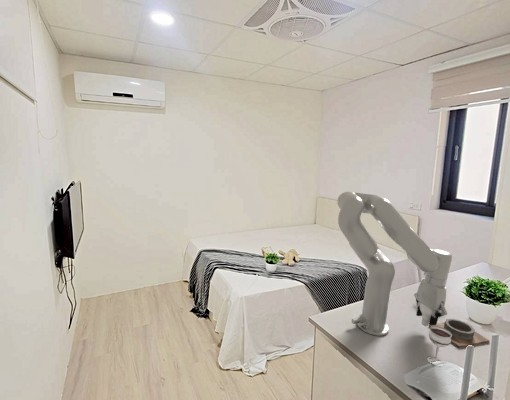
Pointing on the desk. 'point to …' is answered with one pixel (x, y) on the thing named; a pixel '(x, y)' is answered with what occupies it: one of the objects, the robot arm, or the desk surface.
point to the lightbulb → (425, 314)
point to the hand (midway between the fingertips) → (426, 319)
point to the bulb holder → (462, 333)
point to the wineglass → (439, 339)
